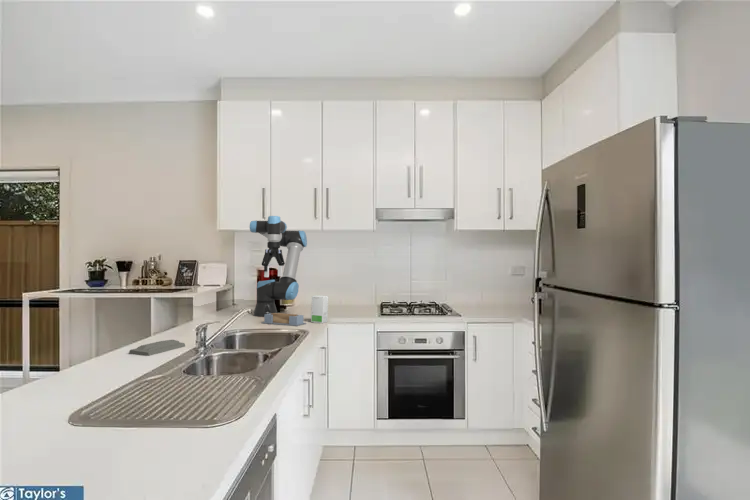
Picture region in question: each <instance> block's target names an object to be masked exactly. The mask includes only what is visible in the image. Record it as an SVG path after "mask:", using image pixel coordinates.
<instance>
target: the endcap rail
mask: <svg viewBox="0 0 750 500" xmlns="http://www.w3.org/2000/svg"><path fill="white" fill-rule="evenodd" d="M297 315H298V316H289V324H287V323H274V322H273V315H271V313H270V314H264V316H263V317H264V319H263V320H264V321H262V322H261V324H263V325H274V326H275V325H276V326H287V327H288V326H289V327H290V326H291V327H300V326H304V325H306V324H307V323H306V322H304V315H302V314H297Z"/></svg>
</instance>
